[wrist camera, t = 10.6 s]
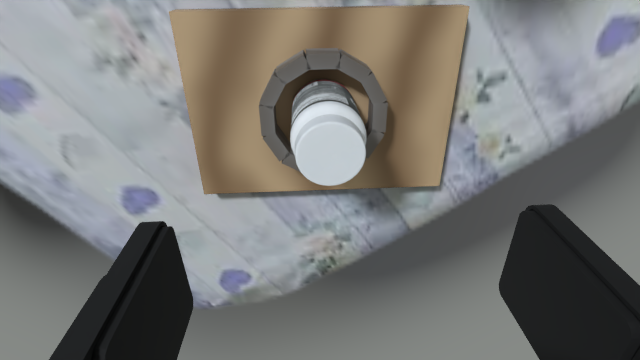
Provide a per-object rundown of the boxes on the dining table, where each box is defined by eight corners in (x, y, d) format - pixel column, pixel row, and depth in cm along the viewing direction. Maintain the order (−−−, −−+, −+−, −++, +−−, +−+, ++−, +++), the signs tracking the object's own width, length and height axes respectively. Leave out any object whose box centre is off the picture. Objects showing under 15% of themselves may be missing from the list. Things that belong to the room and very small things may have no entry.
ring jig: (461, 4, 26) (482, 9, 23) (433, 177, 33) (447, 198, 30) (175, 9, 26) (158, 14, 22) (208, 185, 32) (198, 207, 29)
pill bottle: (352, 137, 29) (370, 192, 22) (292, 137, 29) (290, 193, 22) (356, 77, 27) (377, 116, 20) (291, 76, 27) (288, 116, 19)
